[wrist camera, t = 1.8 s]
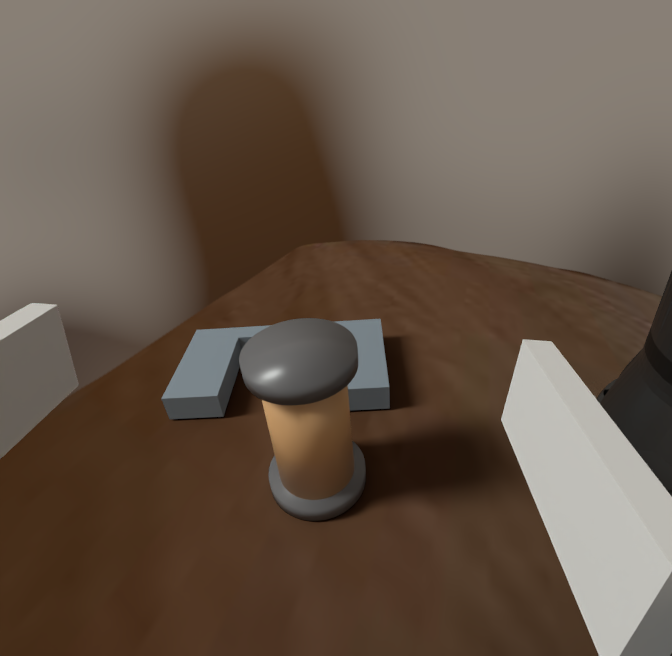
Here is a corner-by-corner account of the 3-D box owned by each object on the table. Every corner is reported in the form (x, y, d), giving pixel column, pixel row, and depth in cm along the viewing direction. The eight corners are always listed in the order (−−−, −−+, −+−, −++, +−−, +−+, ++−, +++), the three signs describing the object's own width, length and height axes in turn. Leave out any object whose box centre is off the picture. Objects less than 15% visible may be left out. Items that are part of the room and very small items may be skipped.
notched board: (380, 338, 48) (380, 318, 46) (389, 408, 38) (389, 386, 37) (202, 348, 49) (196, 330, 47) (169, 419, 40) (161, 398, 38)
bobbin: (364, 439, 36) (356, 315, 29) (368, 519, 30) (359, 385, 23) (277, 443, 36) (250, 321, 30) (264, 522, 30) (226, 392, 24)
